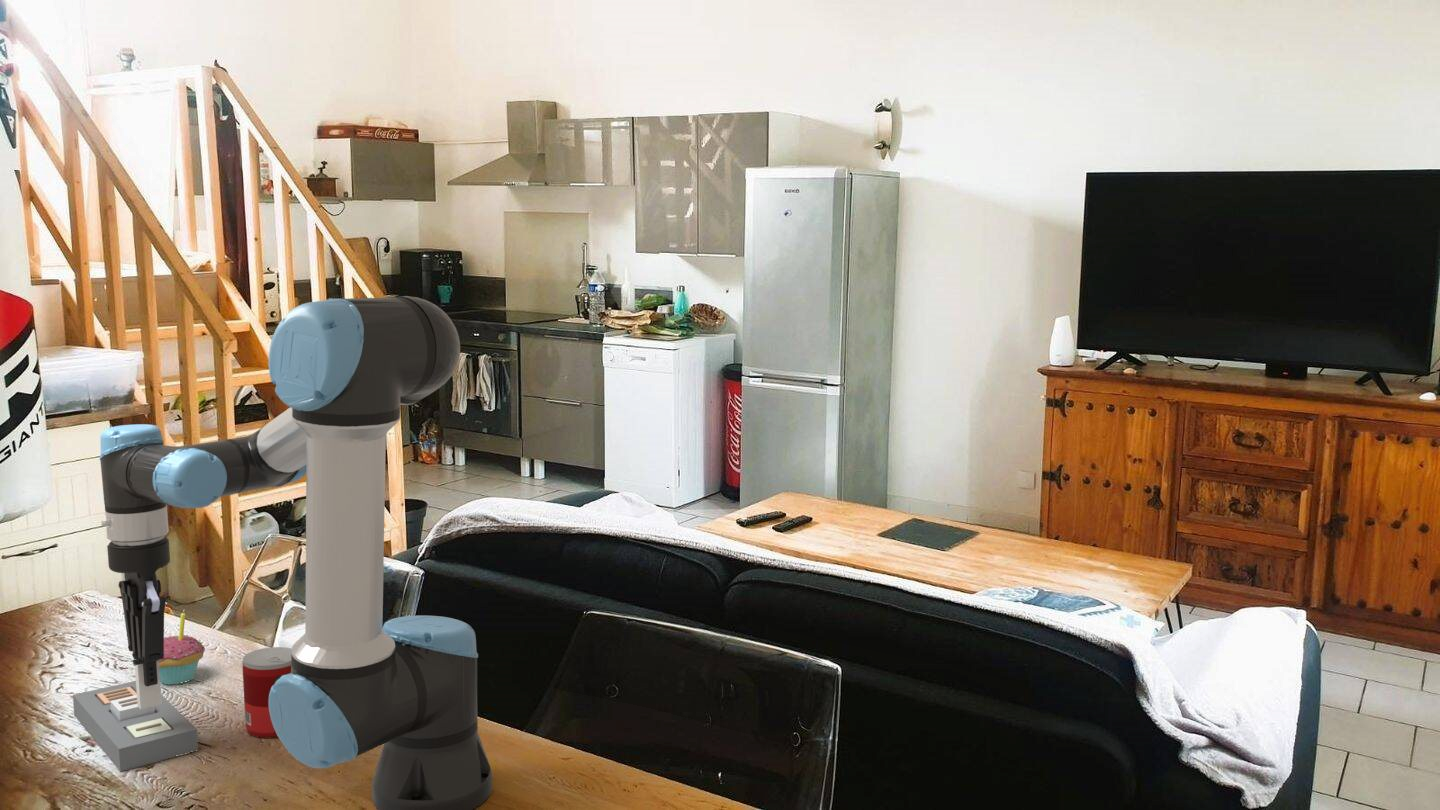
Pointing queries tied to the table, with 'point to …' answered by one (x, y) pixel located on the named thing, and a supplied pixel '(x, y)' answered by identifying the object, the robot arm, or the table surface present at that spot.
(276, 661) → the canned food
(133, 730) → the tile
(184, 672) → the cupcake
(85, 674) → the table surface
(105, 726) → the keypad
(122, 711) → the tile
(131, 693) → the tile
